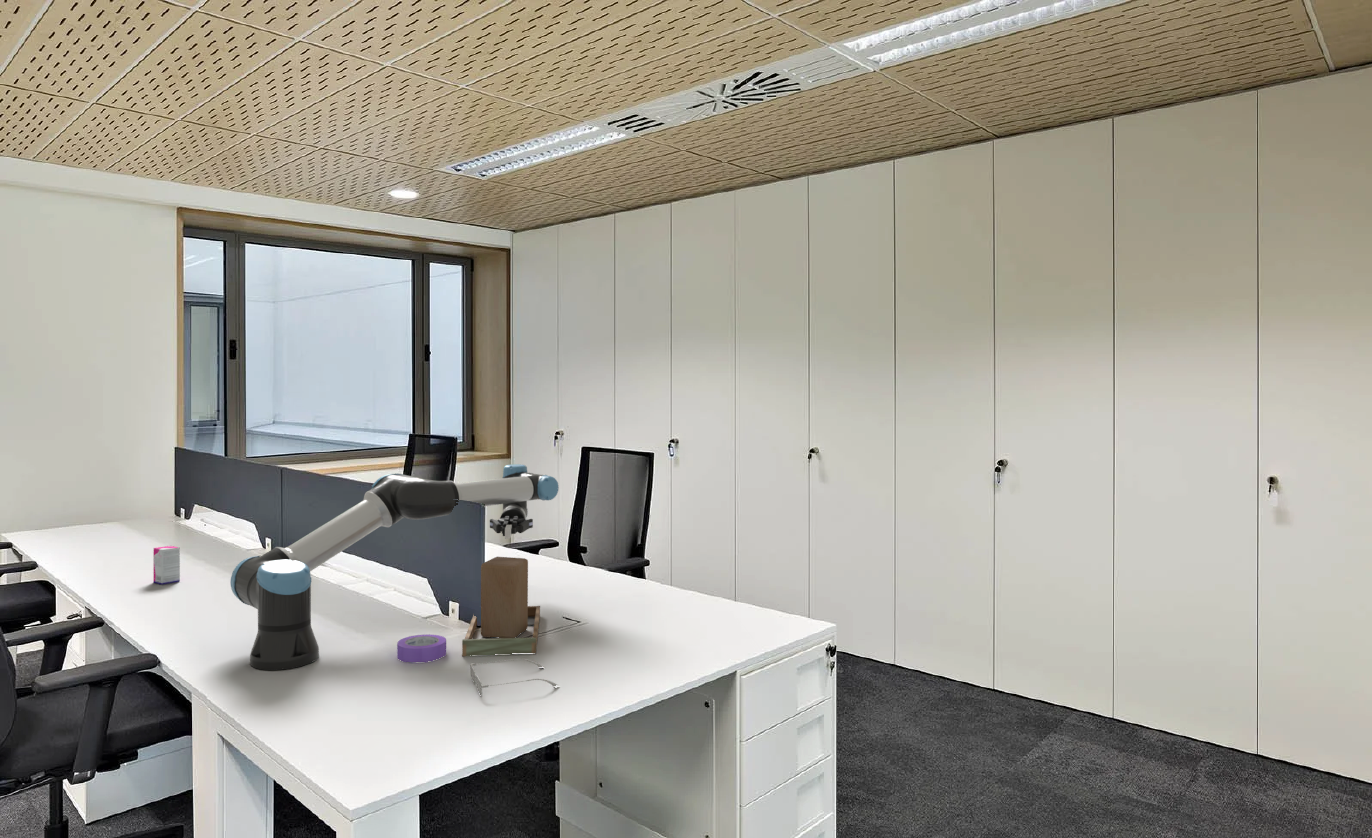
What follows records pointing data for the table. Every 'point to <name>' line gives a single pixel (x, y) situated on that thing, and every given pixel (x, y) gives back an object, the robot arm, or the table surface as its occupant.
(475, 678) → the eyeglasses
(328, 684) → the table surface
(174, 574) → the supplement box
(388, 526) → the robot arm
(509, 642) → the wooden tray
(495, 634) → the block
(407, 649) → the masking tape
